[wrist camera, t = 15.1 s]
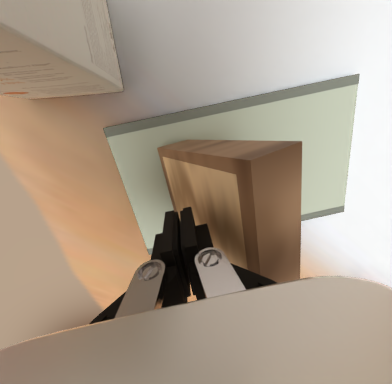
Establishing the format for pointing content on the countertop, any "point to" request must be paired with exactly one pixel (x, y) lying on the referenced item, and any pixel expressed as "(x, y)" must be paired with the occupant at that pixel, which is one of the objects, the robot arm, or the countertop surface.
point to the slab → (242, 199)
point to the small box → (57, 49)
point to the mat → (245, 130)
